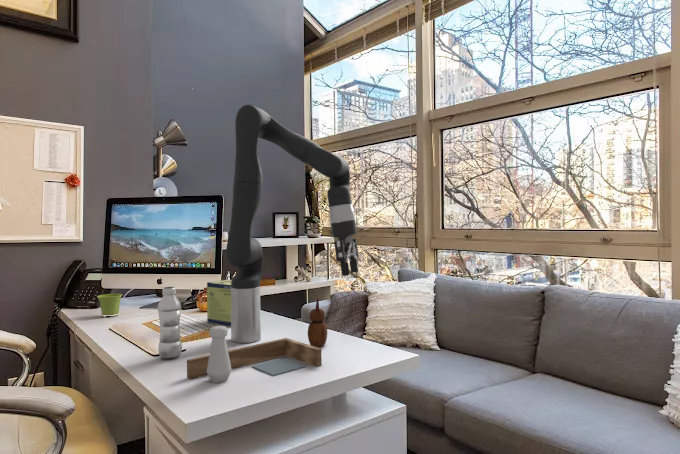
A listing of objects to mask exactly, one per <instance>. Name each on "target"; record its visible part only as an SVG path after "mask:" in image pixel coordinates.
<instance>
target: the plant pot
mask: <svg viewBox="0 0 680 454" xmlns="http://www.w3.org/2000/svg"><path fill="white" fill-rule="evenodd" d="M122 296H123V294H122V293H108V294H100V295H97V296H96V297H97V299H98V301H99V305H100V310H101V316H102V315H114V314H118V313H120V306H121V305H120V304H121V300H122Z"/></svg>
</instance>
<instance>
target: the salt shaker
mask: <svg viewBox="0 0 680 454" xmlns="http://www.w3.org/2000/svg"><path fill="white" fill-rule="evenodd" d="M228 331H229V330H228V328H227V327H226V325H216V326H213V327H212V326H211V328H210V329H209V331H208V336H209V337H210V338H211V345H210V349H209V354H208V355H209V360H208V366H207V374H208V375H207V377H208V378H209V381H210V382H211V383H214V384H215V383H216V384H219V383H225V382H226V381H228V379H229V378H230V375H231V372H232V369H231V364H230V359H229V354H228V351H229V350H228V345H227V340H226V337H228Z"/></svg>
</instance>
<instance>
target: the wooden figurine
mask: <svg viewBox="0 0 680 454" xmlns="http://www.w3.org/2000/svg"><path fill="white" fill-rule="evenodd" d="M319 303H320V302H319V298H317V299H316V302H315V308H313V309H311V311H310V313H309V319H310V320H311V322H310V323H309V324H308V327H307V339H308V342H309V345H311V346H314V347H318V348H320V347H323V346H325V345H326V343H327V338H328V326H327V323H326V321H324V320H325V319H326V318H325V317H326V315H325V314H326V313H325V310H324V309H321V308H320V304H319Z"/></svg>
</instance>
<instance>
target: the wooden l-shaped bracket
mask: <svg viewBox="0 0 680 454" xmlns="http://www.w3.org/2000/svg"><path fill="white" fill-rule="evenodd" d="M228 354H229V359H230V364H231V370H233V369H236V368H240V367H244V366H248V365H253V364H257V363H262V362H264V361H265V362H266V361H268V360H269V361H270V360H272V359H277V358H280V357H281V358H282V357H283V356H284V357H289V358H290V359H294V360H297V361H299V362H303V363H306V364H307V365H308V364H309V365H311V366H314V367H316V368H318V367H321V366H322V364H323V363H322V360H323V359H322V348H320V347H314V346H312V345H311V344H307V343H305V342H300V341H297V340H295V339H290V338H287V337H284V338H281V339H280V338H279V339H275V340H271V341H266V342H261V343H257V344H252V345H247V346H243V347H239V348H234V349H230V350H228ZM209 355H210V354H207V355H202V356H197V357H193V358H189V359H188V358H187V359H186V378H187V379H188V380H194V379H196V378H201V377H206V376H208V374H207V366H208V360H209Z"/></svg>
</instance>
